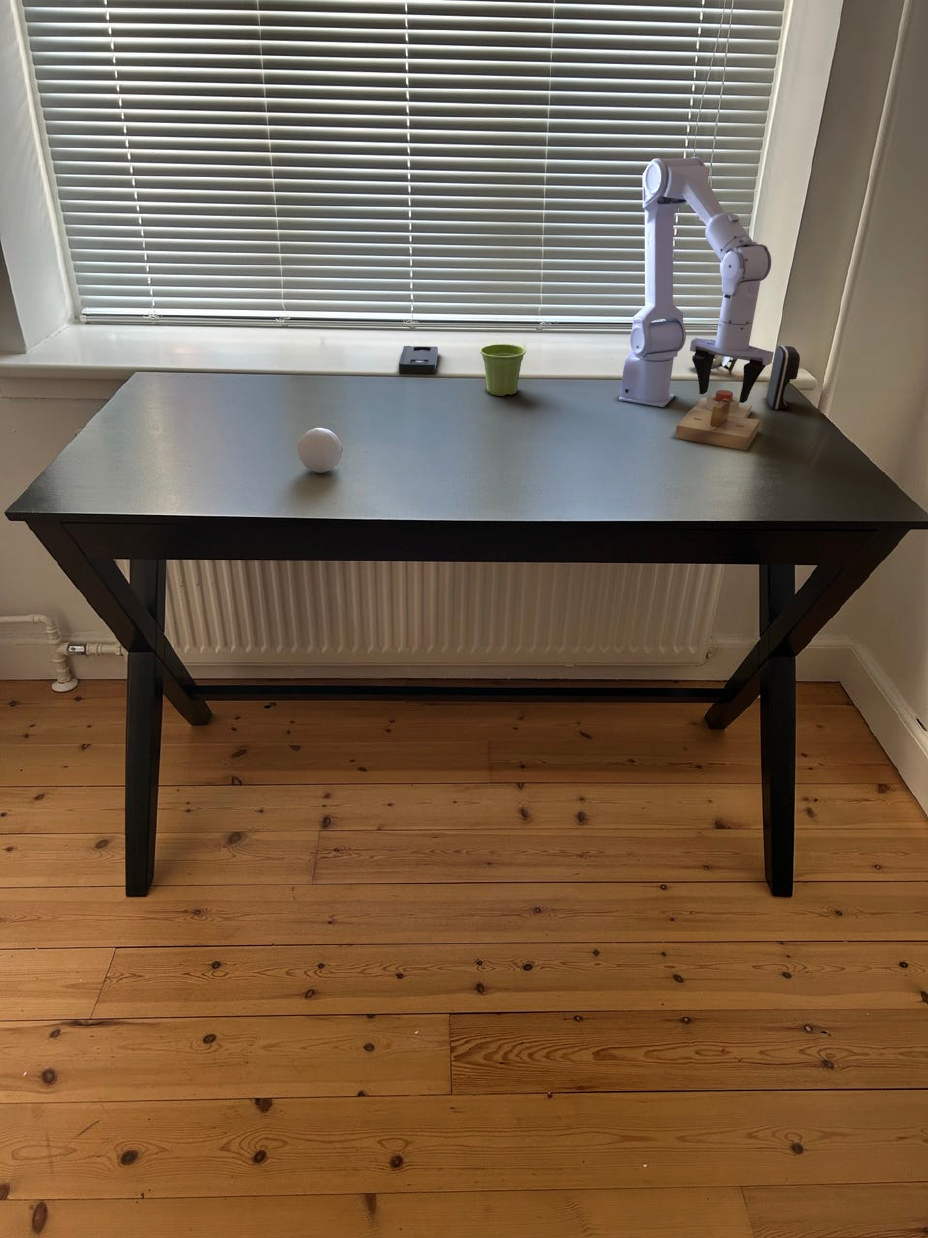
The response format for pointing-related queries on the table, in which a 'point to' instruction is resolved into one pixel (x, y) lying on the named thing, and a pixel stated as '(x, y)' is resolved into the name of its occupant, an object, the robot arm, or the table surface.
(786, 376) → the battery charger
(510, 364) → the plant pot
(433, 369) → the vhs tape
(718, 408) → the thumb turn
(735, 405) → the bell block
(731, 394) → the bell button
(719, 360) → the eagle figurine
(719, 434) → the plate
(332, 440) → the white ball
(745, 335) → the robot arm
